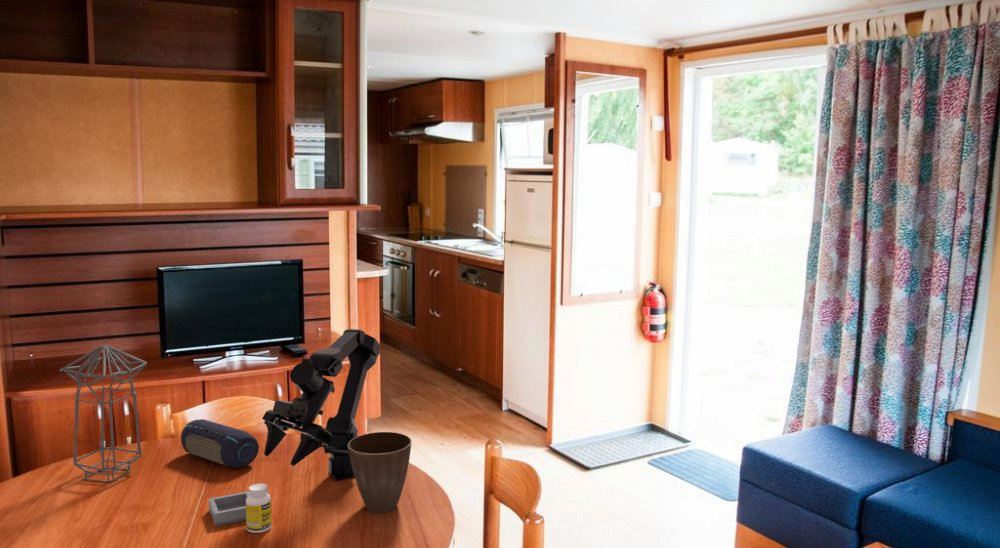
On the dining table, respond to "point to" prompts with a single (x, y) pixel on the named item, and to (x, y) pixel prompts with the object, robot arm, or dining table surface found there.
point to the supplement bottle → (258, 509)
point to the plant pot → (380, 468)
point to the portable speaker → (219, 443)
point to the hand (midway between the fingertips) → (278, 460)
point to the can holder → (228, 508)
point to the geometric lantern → (95, 357)
